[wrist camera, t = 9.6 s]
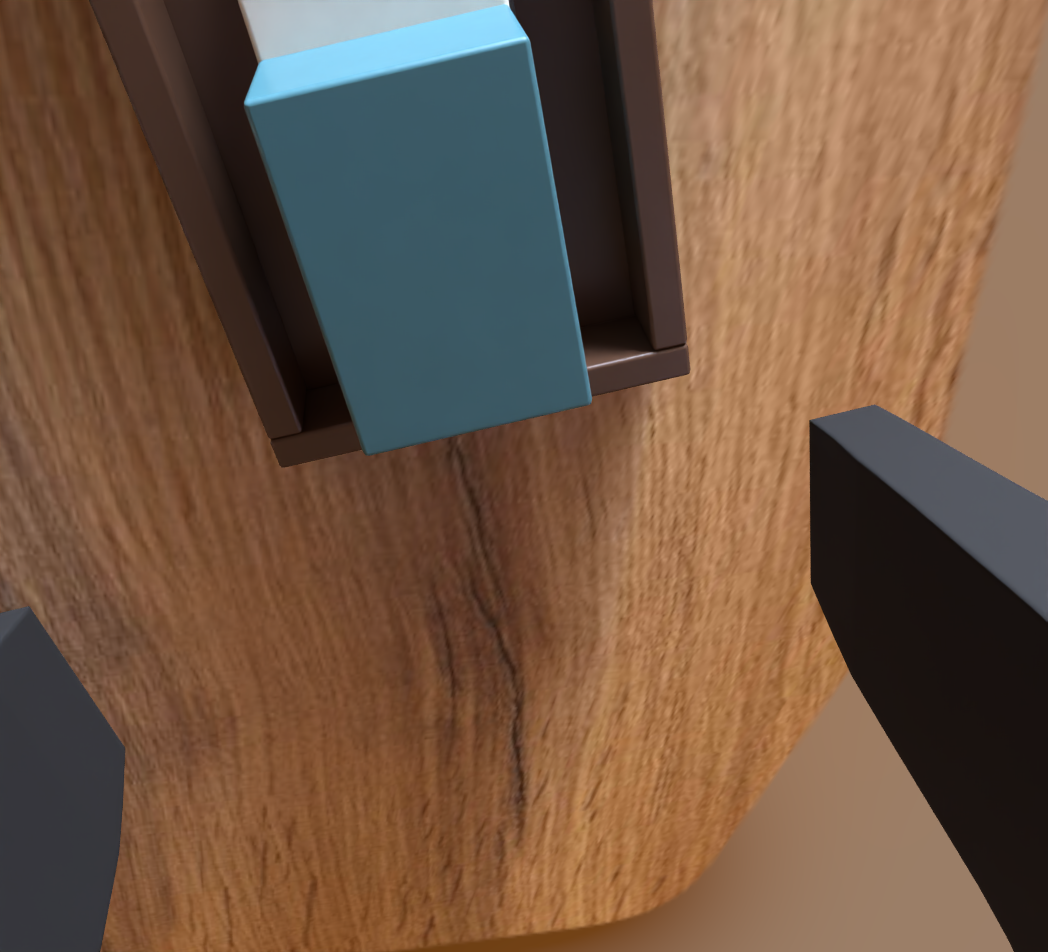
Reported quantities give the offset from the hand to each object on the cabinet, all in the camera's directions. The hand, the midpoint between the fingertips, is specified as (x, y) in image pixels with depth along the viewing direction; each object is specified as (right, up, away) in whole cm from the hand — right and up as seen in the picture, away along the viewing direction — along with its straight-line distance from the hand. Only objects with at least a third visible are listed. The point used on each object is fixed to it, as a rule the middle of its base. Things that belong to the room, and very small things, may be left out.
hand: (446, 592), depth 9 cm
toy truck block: (-1, +7, +6) cm, 9 cm away
